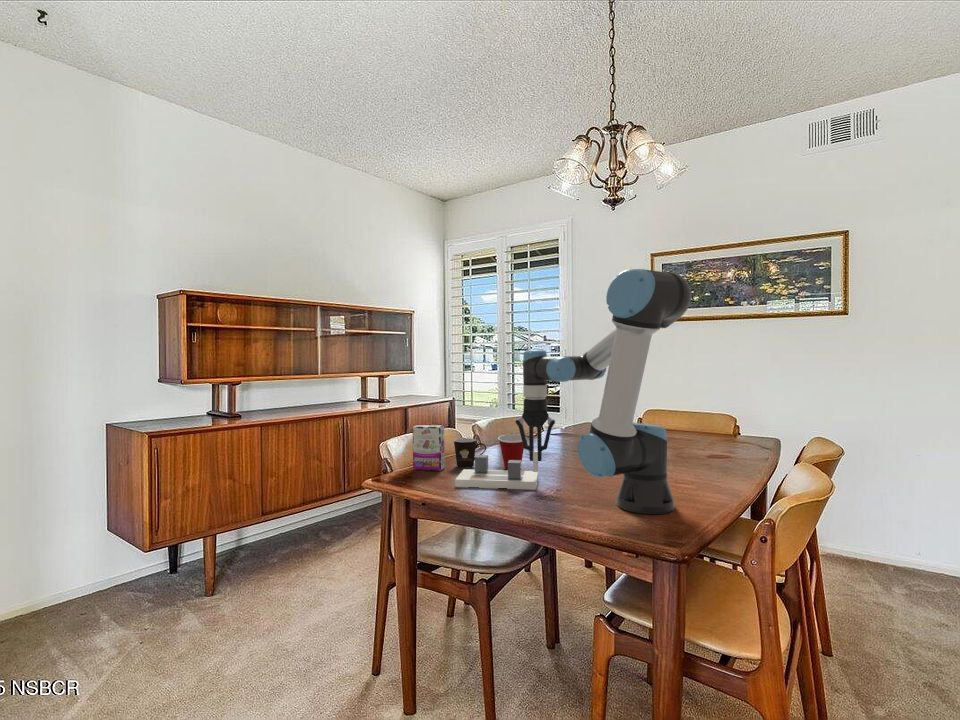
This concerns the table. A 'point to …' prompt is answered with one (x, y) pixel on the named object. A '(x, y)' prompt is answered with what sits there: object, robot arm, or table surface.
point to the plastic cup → (511, 448)
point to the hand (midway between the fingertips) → (535, 471)
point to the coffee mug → (466, 451)
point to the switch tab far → (481, 463)
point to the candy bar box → (428, 447)
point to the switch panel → (496, 479)
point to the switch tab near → (514, 469)
